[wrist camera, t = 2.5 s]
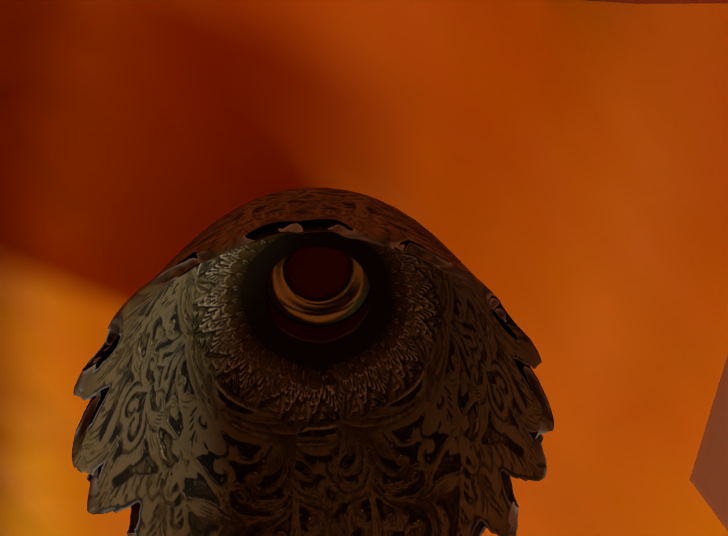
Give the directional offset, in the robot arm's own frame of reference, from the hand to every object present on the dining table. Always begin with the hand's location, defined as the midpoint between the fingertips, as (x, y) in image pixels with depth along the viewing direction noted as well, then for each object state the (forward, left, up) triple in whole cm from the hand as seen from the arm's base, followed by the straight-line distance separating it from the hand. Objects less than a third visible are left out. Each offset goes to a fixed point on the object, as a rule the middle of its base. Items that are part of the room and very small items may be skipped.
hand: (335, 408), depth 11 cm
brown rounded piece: (0, 0, -7) cm, 7 cm away
